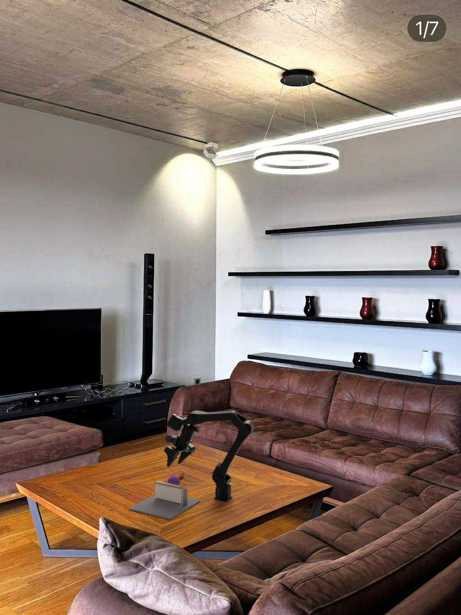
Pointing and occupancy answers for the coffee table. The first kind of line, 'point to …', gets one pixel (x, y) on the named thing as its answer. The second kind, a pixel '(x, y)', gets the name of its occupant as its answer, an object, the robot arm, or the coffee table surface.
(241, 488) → the coffee table surface
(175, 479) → the kendama
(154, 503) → the flat gray base plate
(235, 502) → the coffee table surface
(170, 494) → the gate
